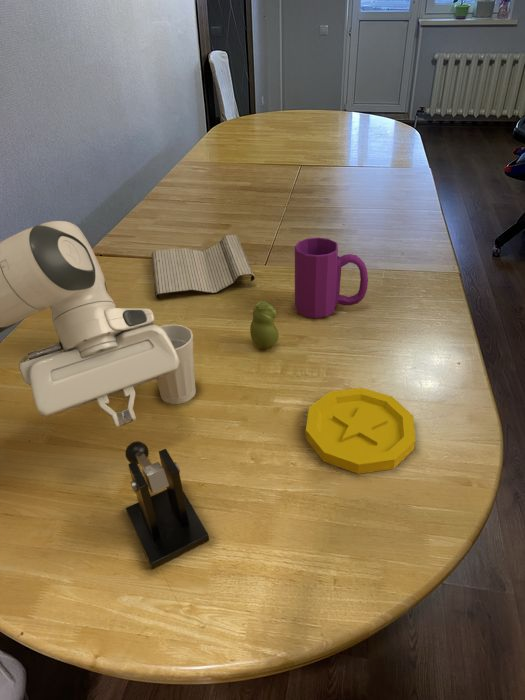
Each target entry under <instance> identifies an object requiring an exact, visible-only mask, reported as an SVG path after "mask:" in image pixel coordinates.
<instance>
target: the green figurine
mask: <svg viewBox="0 0 525 700" xmlns="http://www.w3.org/2000/svg"><path fill="white" fill-rule="evenodd" d="M276 309H277V308H276V306H275V305H273V304H272V303H270V302H268V301H266V300H261V301H258V302H256V303H255V308H253V310H252V320H251V323H250V327H249V328H250V329H249V330H250V331H249V333H250V338H251V341H252V343H253V344H254V345H255V346H256V347H257V348H259V349H262V350H265V349H266V350H267V349H271V348H273V347H274V346H276V344H277V343H278V340H279V330H278V328H277V326H276V325H275V323H274V322H275V319H276V317H277V313H278V312H277V310H276Z"/></svg>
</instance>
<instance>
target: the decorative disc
mask: <svg viewBox="0 0 525 700" xmlns="http://www.w3.org/2000/svg"><path fill="white" fill-rule="evenodd" d="M305 440H306V441H307V443H308V444H309V445H310V446H311V448H312V449H313V450H314V452H315V453H316V454H317V455H318V456H319V458H320V459H321V460H322V461H323V462H324V463H326V464H329V465H332V466H335V467H338V468H340V469H343V470H346V471H349V472H353V473H355V474H358V475H360V474H367V473H373V472H382V471H388V470H394V469H396V467H398V465H399V464H400V463H402V461H404V459H405V458H407V457H408V456H409V455H410V454H411V453H412V452H413V450H415V445H416V441H417V440H416V429H415V418H414V415H413V414H412V413H411V411H409V410H408V409H407V408H406V407H405V406H403V405H402V404H401V403H400V402H399V401H398V400H397V399H396V398H395V397H393V395H389V394H385V393H382V392H378V391H374V390H371V389H368V388H364V387H355V388H348V389H347V388H346V389H339V390H332V391H331V390H330V391H328V393H326V394H325V395H323V396H321V397H320V398H319V399H318V400H316V401H314V402H313V403H312V404H311V405H309V406H308V413H307V418H306V427H305Z"/></svg>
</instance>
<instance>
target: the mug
mask: <svg viewBox="0 0 525 700" xmlns="http://www.w3.org/2000/svg"><path fill="white" fill-rule="evenodd" d="M338 254H339V245H338V243H337V241H334V240H332V239H329V238H325V237H310V238H305V239H302V240H299V241H298V242H297V243H296V244H295V246H294V308H295V310H296V313H298V314H300V315H301V316H303V317H305V318H308V319H309V318H310V319H322V318H323V319H324V318H327V317H328V316H331V315H333V314H334V312H335V309H336V307H337V306H338V305H341V306H345V307H347V306H348V307H349V306H354V305H357V304H359V303H360V302H361V301H362V300H364V298H365V296H366V293H367V290H368V286H369V285H368V284H369V275H368V269H367V266H366V264H365V262H364V261H363V259H361V257H359V256H358V255H356V254H353V253H352V254H351V253H348V254H343V255H341V256H338ZM349 263H351V264H354V265H355V266H356V267H357V268H358V270H359V277H360V278H359V279H360V280H359V289H358V292H357V293H356V294H354V295H350V296H347V295H342V294H340V292H341V278H342V268H343V267H345V266H346V265H348V264H349Z"/></svg>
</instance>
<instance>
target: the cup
mask: <svg viewBox="0 0 525 700" xmlns="http://www.w3.org/2000/svg"><path fill="white" fill-rule="evenodd" d="M160 327H161V328H162V329H163V330H164V331H165V332H166V334H167V335H168V337H169V339H170V341H171V342H172V344H173V346H174V348H175V350H176V353H177V355H178V357H179V360H180V364H179V367H178V369H177V370H176V372H174V373H172V374H170V375H167V376H164V377H161V378H158V379H156V380H155V381H156V384H157V387H158V390H159V395H160V398H161V400H163V402H165V403H167V404H171V405H180V404H181V405H182V404H184V403H187V402H189V401H190V400H192V399H194V397H195V396H196V393H197V389H196V381H195V380H196V379H195V362H194V361H195V360H194V334H193V331H192V330H191V329H190V328H189V327H187V326H185V325H181V324H174V323H173V324H165V325H161V326H160Z"/></svg>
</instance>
